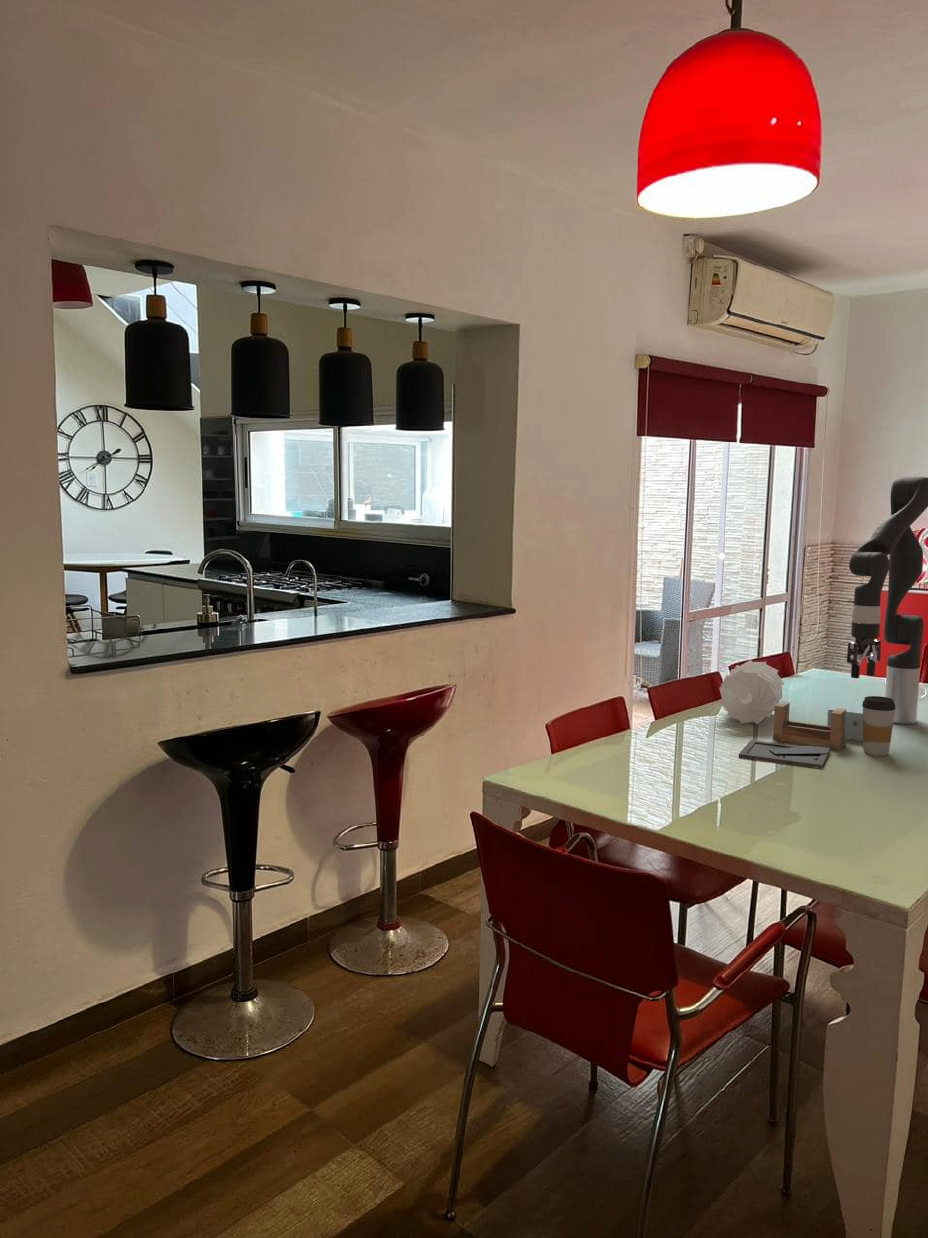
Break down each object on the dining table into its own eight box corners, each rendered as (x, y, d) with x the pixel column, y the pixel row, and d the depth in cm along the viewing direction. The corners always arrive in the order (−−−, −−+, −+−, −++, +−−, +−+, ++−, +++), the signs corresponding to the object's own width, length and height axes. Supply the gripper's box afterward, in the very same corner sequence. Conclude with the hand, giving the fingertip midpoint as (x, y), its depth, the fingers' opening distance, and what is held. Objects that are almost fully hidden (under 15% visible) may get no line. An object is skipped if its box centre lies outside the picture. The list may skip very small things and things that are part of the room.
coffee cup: (896, 757, 243) (899, 703, 241) (863, 756, 244) (866, 701, 242) (888, 749, 251) (891, 696, 249) (856, 747, 252) (859, 695, 250)
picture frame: (829, 755, 247) (750, 745, 257) (830, 748, 247) (750, 738, 257) (821, 770, 233) (738, 759, 243) (822, 763, 233) (738, 752, 243)
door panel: (829, 733, 267) (830, 707, 266) (865, 738, 262) (867, 711, 261) (826, 736, 264) (827, 710, 263) (862, 741, 259) (864, 714, 258)
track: (779, 734, 267) (780, 701, 265) (844, 743, 257) (846, 709, 255) (772, 739, 261) (774, 705, 259) (839, 749, 251) (841, 714, 250)
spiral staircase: (768, 723, 296) (758, 737, 273) (719, 695, 302) (706, 707, 279) (796, 675, 291) (789, 686, 269) (746, 648, 297) (735, 656, 275)
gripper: (866, 619, 268) (863, 673, 270) (840, 621, 260) (837, 677, 261) (891, 621, 262) (887, 676, 264) (865, 623, 254) (862, 680, 255)
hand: (862, 676), depth 262 cm, fingers open, 8 cm apart
